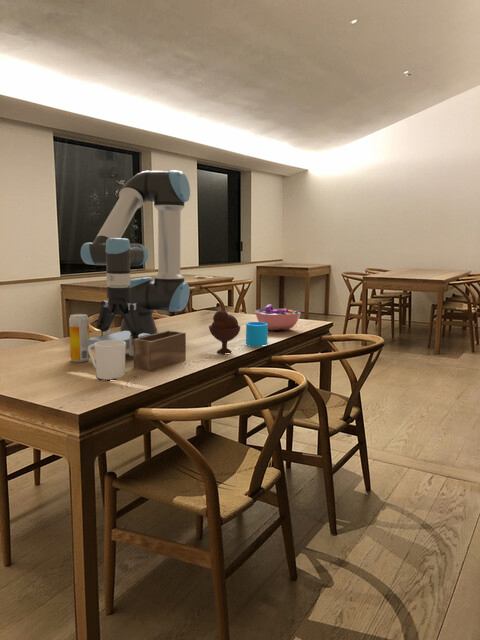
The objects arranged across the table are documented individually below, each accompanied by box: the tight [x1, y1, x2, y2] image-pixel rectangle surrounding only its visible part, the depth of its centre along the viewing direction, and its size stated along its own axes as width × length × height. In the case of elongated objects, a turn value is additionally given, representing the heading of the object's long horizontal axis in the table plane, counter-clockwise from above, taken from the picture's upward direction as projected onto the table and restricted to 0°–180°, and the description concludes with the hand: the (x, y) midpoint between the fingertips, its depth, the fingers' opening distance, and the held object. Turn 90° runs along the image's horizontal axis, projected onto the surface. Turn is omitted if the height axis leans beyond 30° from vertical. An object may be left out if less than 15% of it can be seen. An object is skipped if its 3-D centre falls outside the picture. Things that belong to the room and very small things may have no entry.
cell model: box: [254, 303, 302, 331], centre depth 232 cm, size 17×20×11 cm
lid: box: [87, 331, 150, 350], centre depth 176 cm, size 11×18×4 cm, turn 149°
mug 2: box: [245, 321, 269, 347], centre depth 204 cm, size 12×8×8 cm
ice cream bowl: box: [208, 310, 241, 355], centre depth 188 cm, size 11×11×15 cm
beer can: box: [68, 313, 91, 363], centre depth 174 cm, size 6×6×15 cm
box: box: [133, 330, 187, 372], centre depth 168 cm, size 7×17×10 cm, turn 149°
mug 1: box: [88, 340, 126, 382], centre depth 155 cm, size 11×9×10 cm
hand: (119, 352), depth 177 cm, fingers closed on lid, 11 cm apart
